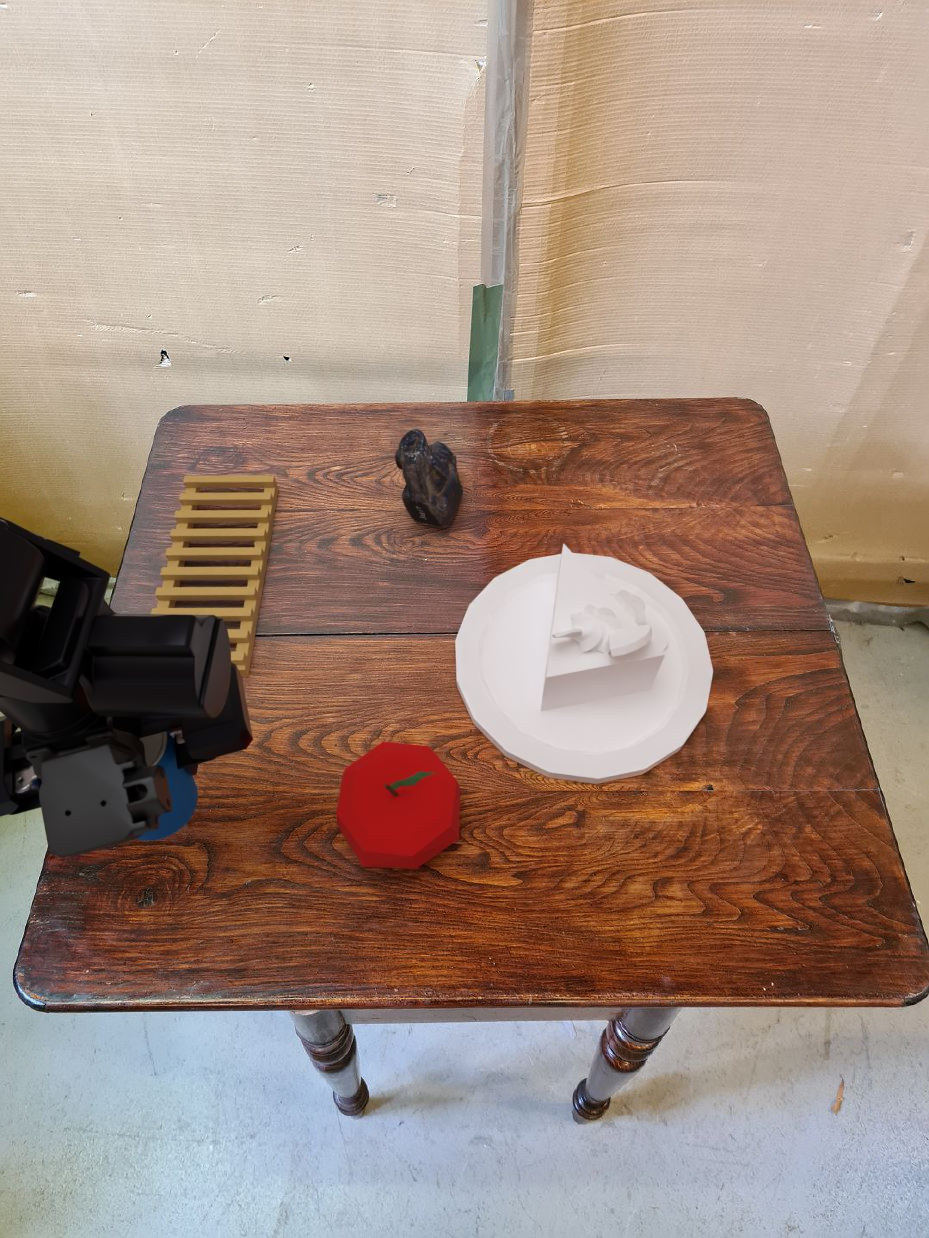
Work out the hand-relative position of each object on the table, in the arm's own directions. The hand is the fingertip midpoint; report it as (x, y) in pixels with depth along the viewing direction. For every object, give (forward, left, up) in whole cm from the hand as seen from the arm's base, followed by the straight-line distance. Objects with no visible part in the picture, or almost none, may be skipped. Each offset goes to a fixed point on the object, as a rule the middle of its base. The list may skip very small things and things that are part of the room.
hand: (145, 782), depth 60 cm
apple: (+18, -5, -12) cm, 22 cm away
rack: (+6, +26, -12) cm, 30 cm away
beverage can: (-1, 0, -5) cm, 5 cm away
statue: (+31, +28, -12) cm, 43 cm away
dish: (+39, +5, -12) cm, 41 cm away
